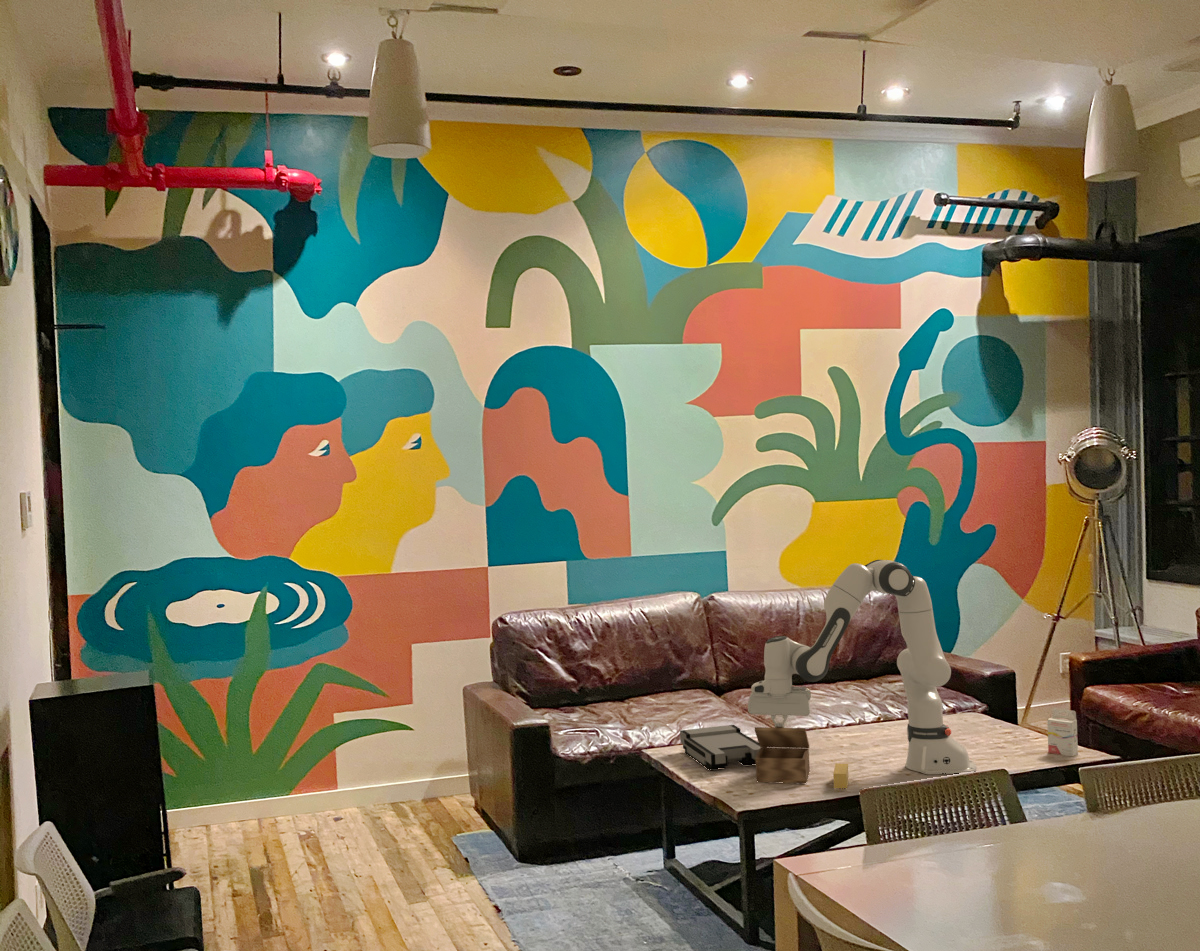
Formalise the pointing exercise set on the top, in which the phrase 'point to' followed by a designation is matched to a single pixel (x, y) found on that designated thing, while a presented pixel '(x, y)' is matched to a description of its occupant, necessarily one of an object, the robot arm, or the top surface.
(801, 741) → the box lid
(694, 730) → the game console
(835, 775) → the yellow block
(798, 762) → the wooden box
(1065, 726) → the ink cartridge box
